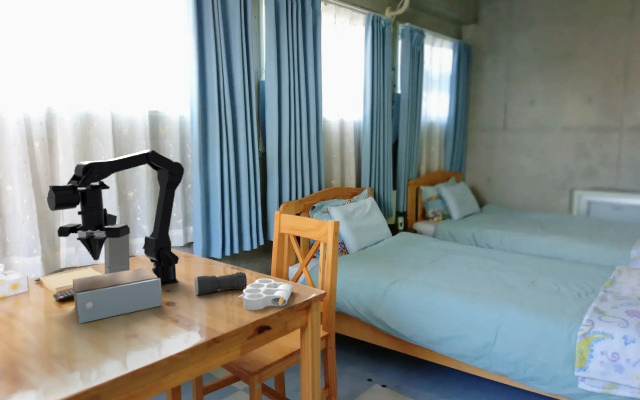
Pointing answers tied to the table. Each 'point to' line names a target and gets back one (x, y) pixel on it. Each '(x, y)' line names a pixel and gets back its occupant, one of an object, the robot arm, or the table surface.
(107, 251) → the skincare box
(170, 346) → the table surface
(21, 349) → the table surface
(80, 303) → the door
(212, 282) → the flashlight
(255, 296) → the white multi-hole tray
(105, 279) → the cubby
